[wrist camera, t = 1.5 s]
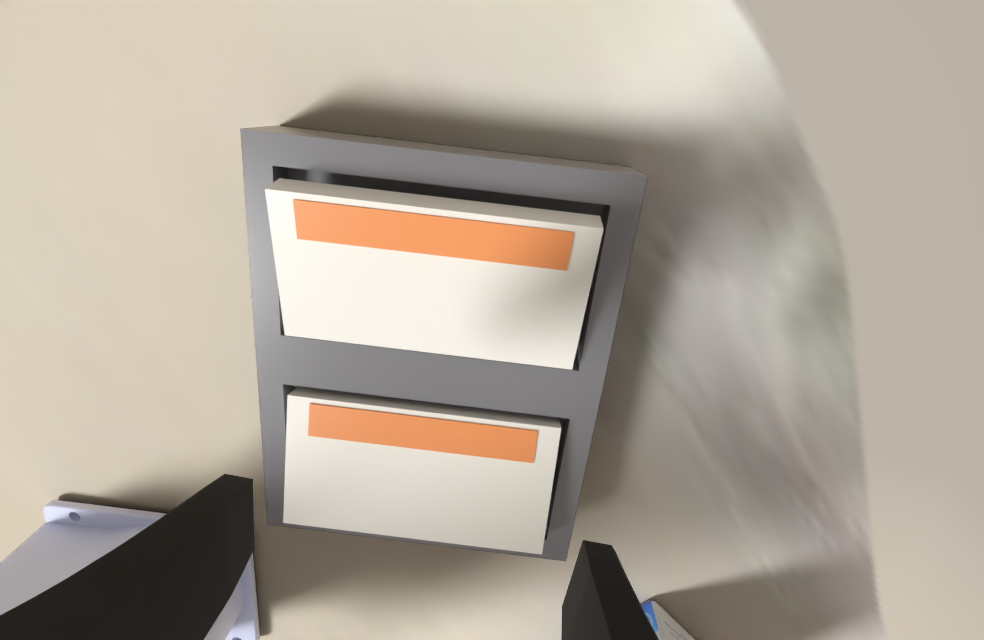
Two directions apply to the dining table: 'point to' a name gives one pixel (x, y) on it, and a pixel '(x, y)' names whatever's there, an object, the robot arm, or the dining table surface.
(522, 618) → the dining table surface
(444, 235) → the rocker
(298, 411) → the orange-striped cream panel
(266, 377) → the grey divided tray
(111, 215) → the dining table surface
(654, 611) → the medicine box
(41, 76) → the dining table surface
